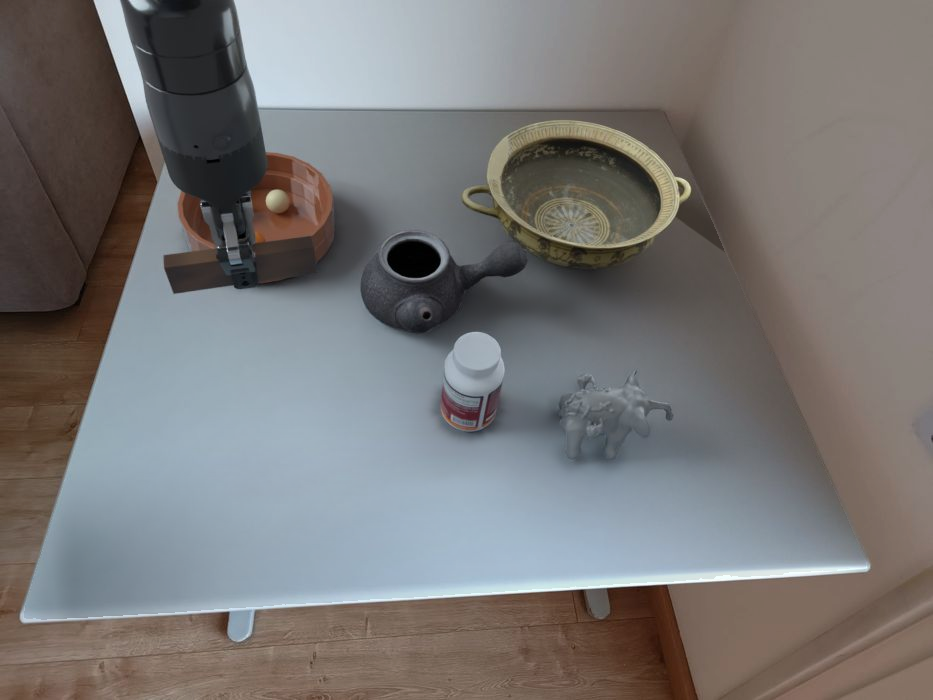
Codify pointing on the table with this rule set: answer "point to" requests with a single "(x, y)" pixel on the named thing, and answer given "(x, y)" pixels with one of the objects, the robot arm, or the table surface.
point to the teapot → (426, 279)
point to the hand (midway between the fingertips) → (245, 276)
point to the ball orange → (259, 237)
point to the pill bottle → (472, 382)
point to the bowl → (301, 219)
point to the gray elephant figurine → (606, 414)
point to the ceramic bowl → (579, 193)
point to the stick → (270, 259)
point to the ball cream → (277, 201)
